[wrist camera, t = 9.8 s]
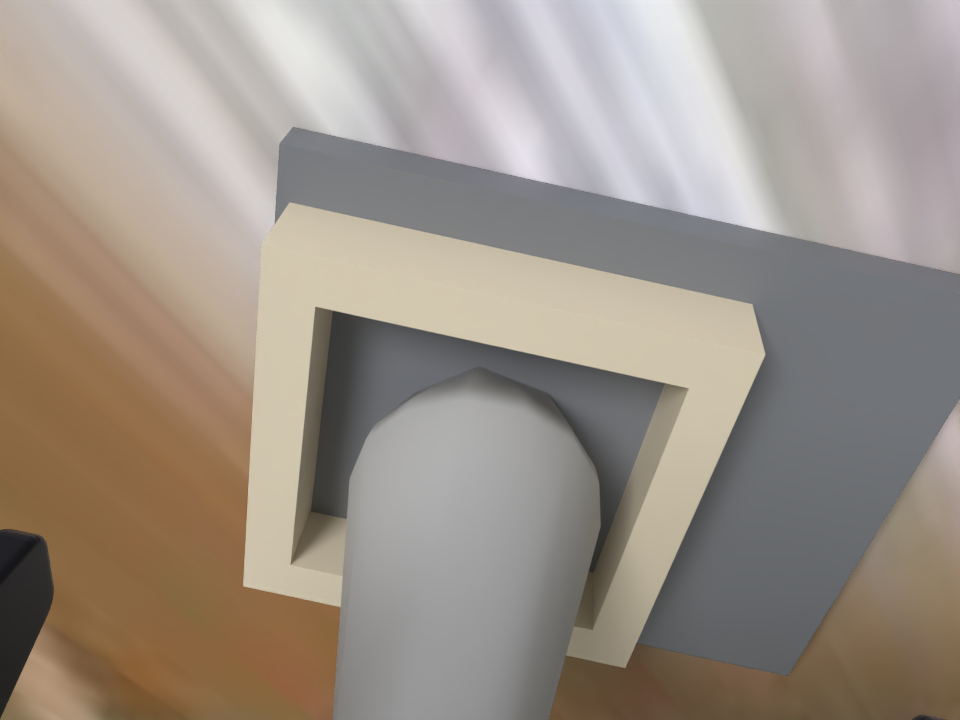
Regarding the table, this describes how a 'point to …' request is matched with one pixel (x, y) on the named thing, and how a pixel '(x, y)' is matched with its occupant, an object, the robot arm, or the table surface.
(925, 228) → the table surface
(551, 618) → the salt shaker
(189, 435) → the table surface
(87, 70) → the table surface
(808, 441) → the build board
